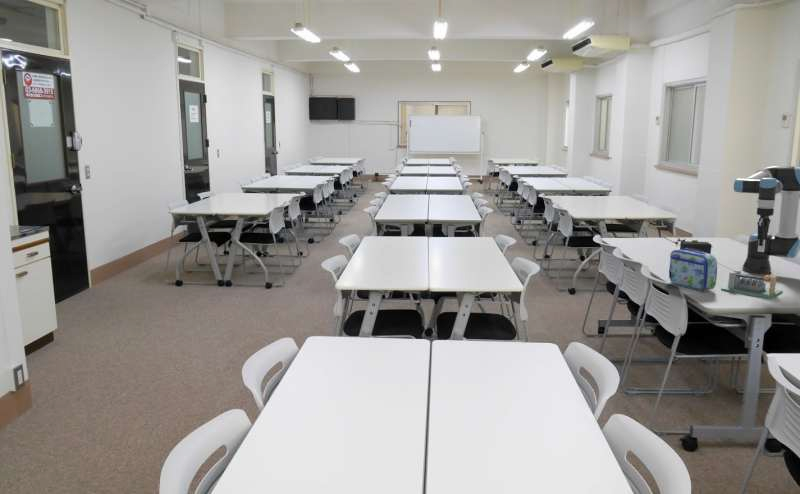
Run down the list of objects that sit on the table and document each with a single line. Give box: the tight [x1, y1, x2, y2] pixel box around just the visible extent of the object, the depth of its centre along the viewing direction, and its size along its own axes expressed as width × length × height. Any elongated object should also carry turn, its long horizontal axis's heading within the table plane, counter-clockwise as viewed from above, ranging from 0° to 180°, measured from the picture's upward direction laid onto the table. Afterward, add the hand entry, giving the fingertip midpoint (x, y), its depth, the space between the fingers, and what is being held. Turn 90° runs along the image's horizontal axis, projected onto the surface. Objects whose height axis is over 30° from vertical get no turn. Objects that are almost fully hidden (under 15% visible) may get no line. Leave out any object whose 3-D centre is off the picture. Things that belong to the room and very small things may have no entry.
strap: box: [736, 273, 773, 282], centre depth 321 cm, size 4×16×2 cm, turn 42°
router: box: [679, 239, 713, 255], centre depth 362 cm, size 8×18×20 cm, turn 78°
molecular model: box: [669, 236, 687, 255], centre depth 400 cm, size 25×12×16 cm, turn 157°
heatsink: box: [736, 277, 767, 293], centre depth 323 cm, size 10×11×6 cm
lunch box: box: [668, 248, 718, 291], centre depth 331 cm, size 26×11×21 cm, turn 21°
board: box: [720, 269, 783, 300], centre depth 322 cm, size 19×24×10 cm
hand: (760, 251), depth 318 cm, fingers closed
